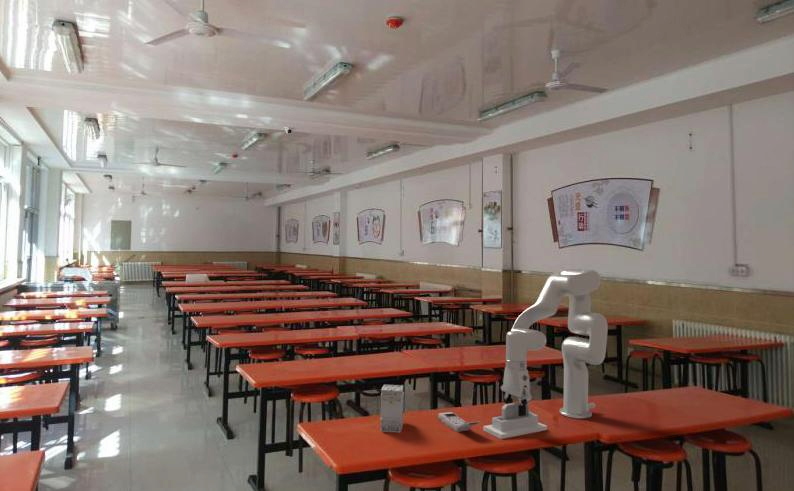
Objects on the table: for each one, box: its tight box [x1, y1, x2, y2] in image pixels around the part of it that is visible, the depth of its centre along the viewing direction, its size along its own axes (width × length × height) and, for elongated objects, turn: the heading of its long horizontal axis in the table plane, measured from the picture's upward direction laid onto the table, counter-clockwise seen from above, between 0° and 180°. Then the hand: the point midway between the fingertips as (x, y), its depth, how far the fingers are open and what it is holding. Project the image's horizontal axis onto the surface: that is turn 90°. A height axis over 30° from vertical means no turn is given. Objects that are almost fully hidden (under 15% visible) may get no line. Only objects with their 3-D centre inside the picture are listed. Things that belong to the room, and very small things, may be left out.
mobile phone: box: [437, 411, 481, 432], centre depth 190 cm, size 6×6×25 cm
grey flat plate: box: [501, 401, 530, 421], centre depth 188 cm, size 2×12×8 cm, turn 118°
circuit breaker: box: [379, 384, 405, 434], centre depth 191 cm, size 8×14×15 cm, turn 174°
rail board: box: [482, 411, 548, 440], centre depth 188 cm, size 22×10×5 cm, turn 118°
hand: (515, 412), depth 188 cm, fingers open, 6 cm apart
